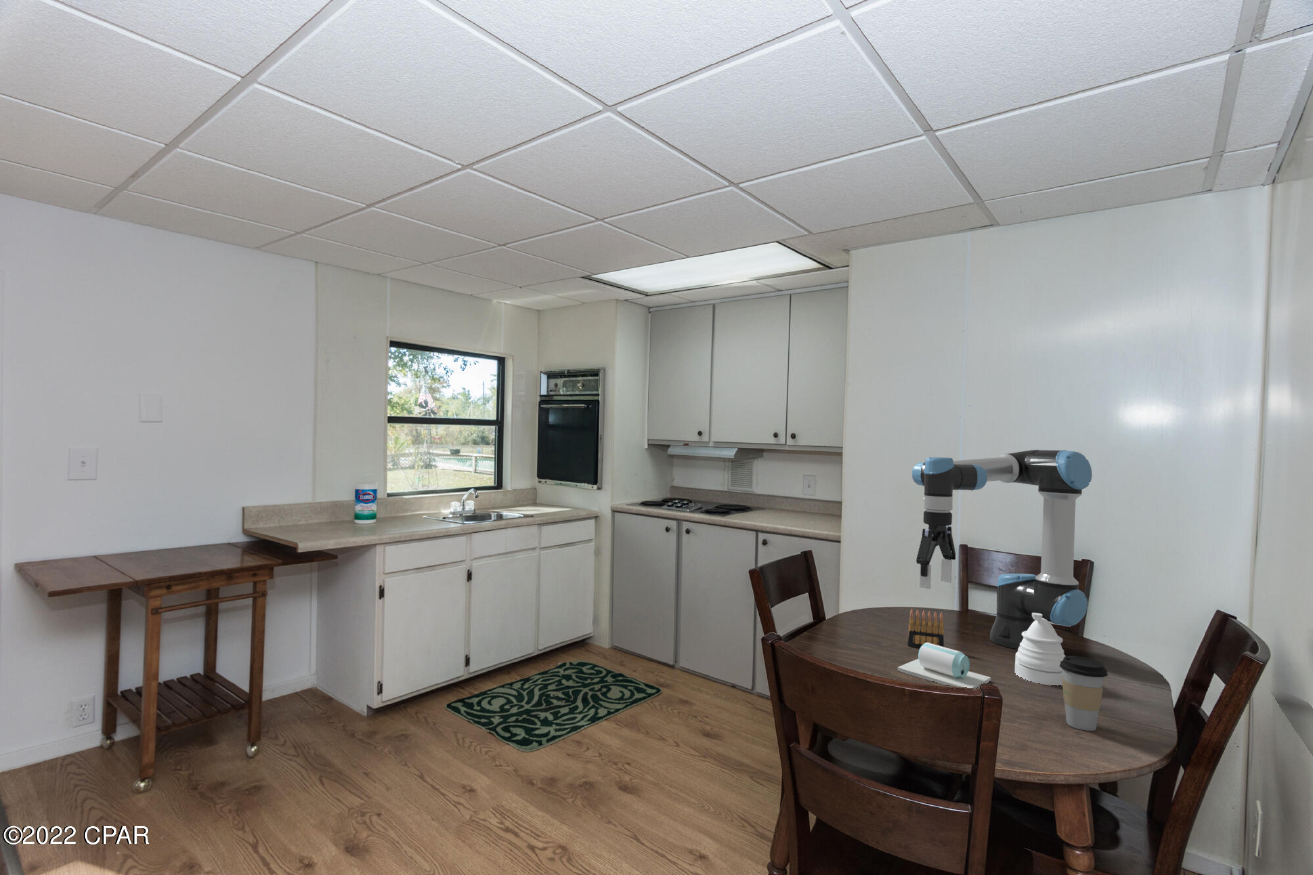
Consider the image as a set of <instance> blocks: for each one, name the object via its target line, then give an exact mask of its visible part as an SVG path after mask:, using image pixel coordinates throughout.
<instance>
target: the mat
mask: <svg viewBox="0 0 1313 875" xmlns="http://www.w3.org/2000/svg"><path fill="white" fill-rule="evenodd" d="M897 672H900V673H903V674H906V675H909V676H913V677H916V678H920V679H922V680H925V681H930V682H932V681H935V682H934V683H936V682H937V683H936V684H939V685H943V686H945V685H951V686H956V687H967V688H975V689H976V688H977V687H979V685H981V684H983V683H986V684H988V683H990V682H991V681H992V677H990V676H987V675H984V674H981V673H977V672H973V671H968V673H967V675H966V676H965V677H959V678H955V677H952V676H949V675H946V674H943V673H939V672H936V671H933V670H930V669H927V668H924V667H922V666H921V665H920V663H919V660H918V658H916V659H914V660H912V661H909V662H906V663H905V664H902V665H899V666H898V667H897ZM989 681H990V682H989ZM979 688H980V687H979ZM976 690H977V689H976Z"/></svg>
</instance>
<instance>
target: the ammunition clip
mask: <svg viewBox="0 0 1313 875" xmlns="http://www.w3.org/2000/svg"><path fill="white" fill-rule="evenodd" d="M914 613H915V612H914V609H913V608H911V609H910V612H909V620H908V635H907V643H906V644H907V647H908V646H909V648H917V649H920V648H921V646H922V645H923V644H924V643H931V644H935V645H938V646H942V647H945V643H944V642H945V640H944V639H945V634H944V632H945V626H944V614H943V612H942V611H941V612H940V614H939V618H938V613H937V611H934V613H933V616H932V612H931V611H930V610H929V611H928V613H927V615H926V610H925V609H923V611H922V612H921V613H922V614H921V616H920V610H919V609H917V610H916V613H915V616H914ZM926 616H927V617H926ZM914 617H915V618H914ZM920 617H921V618H920ZM932 617H933V619H932ZM926 618H927V619H926ZM914 620H915V621H914Z"/></svg>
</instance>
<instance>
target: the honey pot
mask: <svg viewBox="0 0 1313 875" xmlns="http://www.w3.org/2000/svg"><path fill="white" fill-rule="evenodd" d="M1032 617H1033V619H1034V620H1035V621H1034V622H1033V623H1032V624H1031V626H1030V627H1029V629H1028V630H1027V631H1024V632H1022V636H1023V637H1024V638H1023V640H1022V642H1021V643H1020V647H1019V648H1018V649H1017V652H1016V653H1015V658H1014V659H1015V661H1014V674H1015V673H1016V674H1015V675H1016V676H1017V675H1018V676H1019V678H1020V677H1022V678H1023V680H1025V679H1026V680H1025V681H1027V680H1028V681H1027V682H1030V681H1032V682H1031V683H1035V684H1038V683H1040V684H1039V685H1045V686H1051V685H1057V686H1056V687H1059V686H1058V685H1061V686H1063V685H1062V677H1063V676H1062V668H1061V667H1060V666H1059V665H1060V662H1061V661H1063V659H1064V657H1065V656H1066V655H1065V650H1064V649H1063V647H1062V643H1063V641H1064V639H1063V637H1061V636H1059V635H1058V633H1057V632H1056V630H1055V629H1054V627H1053V625H1052V624H1051V622H1048V621H1047V620H1046V619H1044V618H1042V614H1039V613H1032ZM1018 676H1017V677H1018ZM1022 678H1021V679H1022Z"/></svg>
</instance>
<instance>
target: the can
mask: <svg viewBox="0 0 1313 875" xmlns="http://www.w3.org/2000/svg"><path fill="white" fill-rule="evenodd" d="M917 657H918V658H917V659H918V660H919V663H920V665H921V666H922V667H924V668H927V669H930V670H933V671H936V672H939V673H943V674H946V675H949V676H952V677H955V678H959V677H965V676H966V675H967V673H968V671H969V670H970V666H971V665H970V664H971V663H970V659H969V656H968V655H965V654H964V652H962V651H959V650H956V649H952V648H948V647H945V646H944V647H942V646H938V645H935V644H931V643H924V644H923V645H922V646H921V648H919V650H918V654H917Z"/></svg>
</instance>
